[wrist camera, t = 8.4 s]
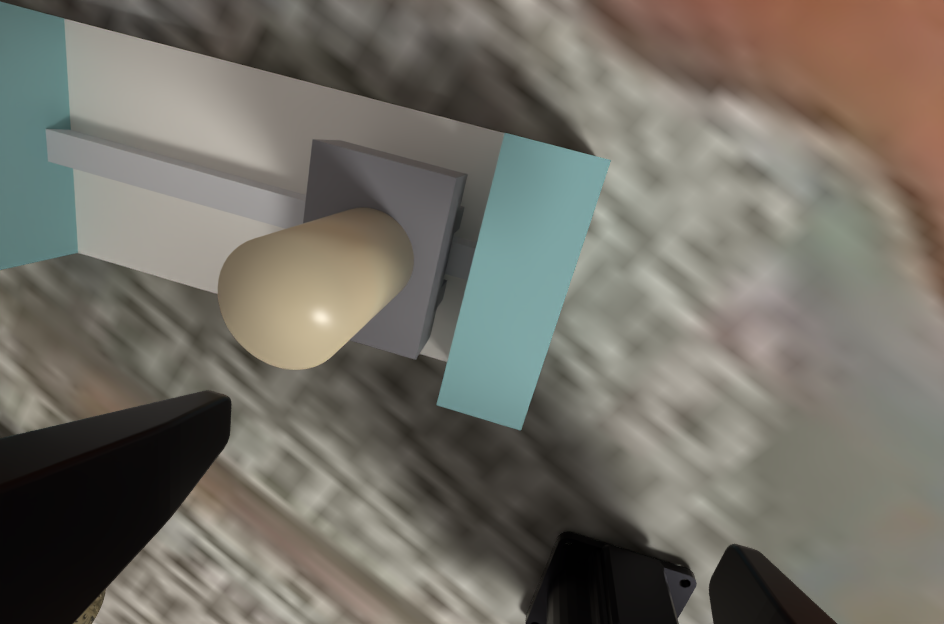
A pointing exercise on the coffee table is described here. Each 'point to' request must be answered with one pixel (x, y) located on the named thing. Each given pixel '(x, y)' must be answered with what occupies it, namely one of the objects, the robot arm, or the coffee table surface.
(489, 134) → the rail track
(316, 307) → the carriage
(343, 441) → the coffee table surface
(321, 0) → the coffee table surface
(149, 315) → the coffee table surface
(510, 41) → the coffee table surface
